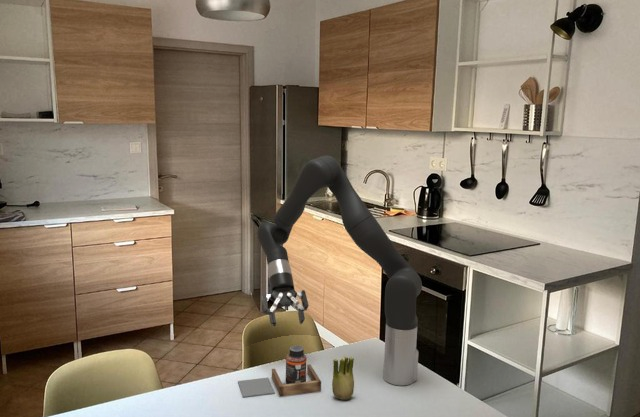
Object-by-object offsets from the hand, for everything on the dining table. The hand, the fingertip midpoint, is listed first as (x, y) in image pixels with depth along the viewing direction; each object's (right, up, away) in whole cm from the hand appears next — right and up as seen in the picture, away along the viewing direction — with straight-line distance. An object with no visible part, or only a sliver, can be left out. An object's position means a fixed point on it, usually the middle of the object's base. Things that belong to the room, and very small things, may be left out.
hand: (288, 324), depth 163 cm
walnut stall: (+3, -16, -7) cm, 18 cm away
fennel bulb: (+16, -18, -13) cm, 27 cm away
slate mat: (-9, -16, -10) cm, 21 cm away
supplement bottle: (+3, -16, -7) cm, 18 cm away
